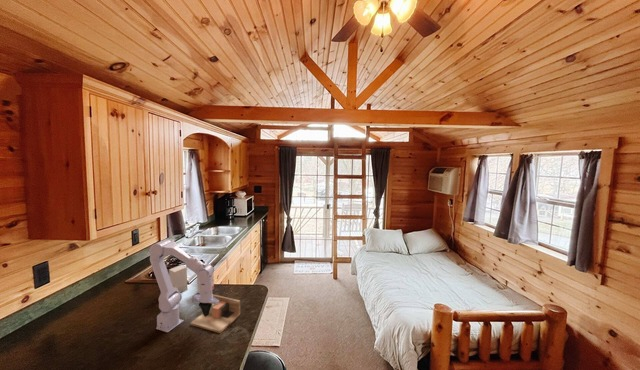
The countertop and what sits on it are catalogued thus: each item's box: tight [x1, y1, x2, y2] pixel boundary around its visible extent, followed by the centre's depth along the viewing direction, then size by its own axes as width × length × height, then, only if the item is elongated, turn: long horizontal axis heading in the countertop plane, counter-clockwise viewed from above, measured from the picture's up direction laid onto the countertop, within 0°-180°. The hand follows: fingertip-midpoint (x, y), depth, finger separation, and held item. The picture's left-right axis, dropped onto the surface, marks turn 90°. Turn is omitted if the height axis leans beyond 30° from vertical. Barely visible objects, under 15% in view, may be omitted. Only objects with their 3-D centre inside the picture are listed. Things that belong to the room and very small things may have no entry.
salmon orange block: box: [212, 301, 227, 318], centre depth 134 cm, size 7×4×5 cm, turn 162°
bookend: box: [221, 303, 234, 318], centre depth 134 cm, size 5×4×5 cm
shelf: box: [190, 293, 241, 334], centre depth 131 cm, size 16×18×8 cm
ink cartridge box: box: [196, 273, 215, 295], centre depth 159 cm, size 9×5×15 cm, turn 143°
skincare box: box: [168, 264, 189, 294], centre depth 158 cm, size 8×7×16 cm
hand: (206, 315), depth 125 cm, fingers closed
